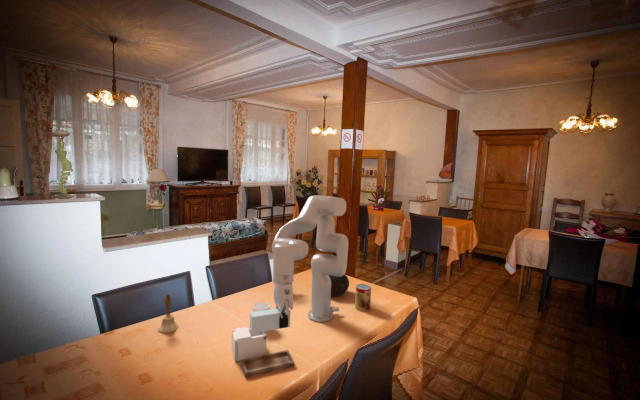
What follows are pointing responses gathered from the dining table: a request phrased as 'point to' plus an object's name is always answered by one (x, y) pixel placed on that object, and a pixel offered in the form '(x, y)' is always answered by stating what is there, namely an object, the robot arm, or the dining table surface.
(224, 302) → the dining table surface
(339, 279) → the black round vase
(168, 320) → the hand bell
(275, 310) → the white rectangular block
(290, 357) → the tray
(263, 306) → the white cup
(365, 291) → the canned food
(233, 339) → the dispenser
